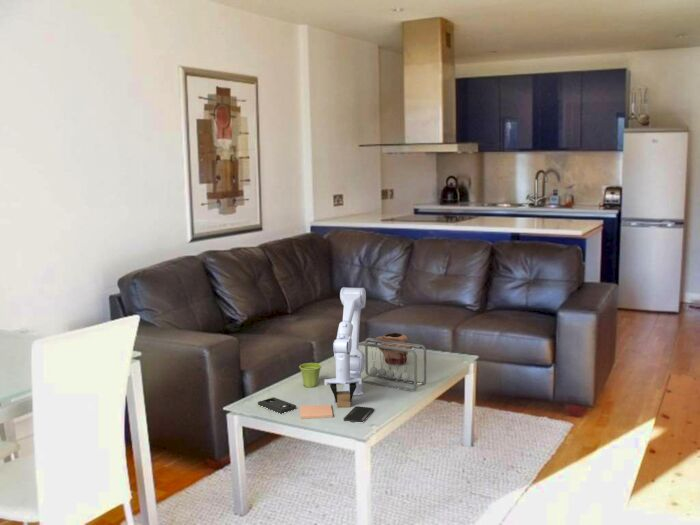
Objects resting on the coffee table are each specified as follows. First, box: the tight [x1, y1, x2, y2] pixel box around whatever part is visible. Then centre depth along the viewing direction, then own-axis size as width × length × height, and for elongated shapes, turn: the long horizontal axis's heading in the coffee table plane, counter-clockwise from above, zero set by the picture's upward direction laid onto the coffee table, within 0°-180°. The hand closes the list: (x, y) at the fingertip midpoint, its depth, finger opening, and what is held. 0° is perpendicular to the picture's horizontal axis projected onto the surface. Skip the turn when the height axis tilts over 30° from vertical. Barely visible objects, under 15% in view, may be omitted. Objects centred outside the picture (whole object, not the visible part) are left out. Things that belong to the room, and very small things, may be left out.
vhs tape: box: [257, 396, 297, 415], centre depth 285 cm, size 14×8×2 cm, turn 45°
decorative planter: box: [374, 332, 413, 366], centre depth 344 cm, size 20×12×14 cm, turn 62°
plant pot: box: [298, 362, 322, 388], centre depth 312 cm, size 9×9×9 cm
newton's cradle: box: [353, 337, 427, 391], centre depth 313 cm, size 30×10×18 cm, turn 59°
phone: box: [343, 405, 375, 423], centre depth 275 cm, size 8×1×15 cm
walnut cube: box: [336, 390, 351, 409], centre depth 286 cm, size 5×5×5 cm
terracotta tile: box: [300, 404, 334, 420], centre depth 279 cm, size 12×12×1 cm
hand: (343, 401), depth 286 cm, fingers closed on walnut cube, 5 cm apart
